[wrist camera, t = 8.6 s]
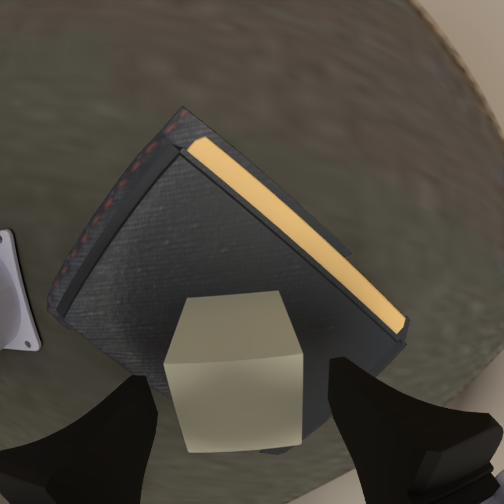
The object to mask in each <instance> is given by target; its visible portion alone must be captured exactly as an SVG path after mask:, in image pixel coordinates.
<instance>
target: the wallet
mask: <svg viewBox="0 0 504 504" xmlns="http://www.w3.org/2000/svg"><path fill="white" fill-rule="evenodd" d="M348 255H352V253H351V252H350V251H349V250H348V249H347V248H346V247H345V246H344V245H342V244H341V243H340V242H339V241H338V240H337V239H336V238H335V237H334V236H333V235H332V234H331V233H330V232H329V231H328V230H327V229H326V228H325V227H324V226H322V225H321V224H320V223H319V222H318V221H317V220H316V219H315V218H314V217H313V216H312V215H311V214H310V213H308V212H307V211H306V210H305V209H304V208H303V207H302V206H301V205H300V204H299V203H297V202H296V201H295V200H294V199H293V198H292V197H291V196H290V195H289V194H287V193H286V192H285V191H284V190H283V189H282V188H281V187H280V186H278V185H277V184H276V183H275V182H274V181H273V180H272V179H270V178H269V177H268V176H267V175H266V174H265V173H263V172H262V171H261V170H260V169H259V168H258V167H257V166H255V165H254V164H253V163H252V162H251V161H249V160H248V159H247V158H246V157H245V156H244V155H242V154H241V153H240V152H239V151H238V150H236V149H235V148H234V147H233V146H232V145H230V144H229V143H228V142H227V141H226V140H224V139H223V138H222V137H221V136H219V135H218V134H217V133H216V132H215V131H213V130H212V129H211V128H210V127H208V126H207V125H206V124H205V123H203V122H202V121H201V120H200V119H198V118H197V117H196V116H195V115H193V114H192V113H191V112H189V111H188V110H187V109H186V108H184V107H183V106H182V107H181V108H180V109H179V110H178V111H177V113H176V114H175V115H174V116H173V117H172V118H171V120H170V121H169V122H168V123H167V124H166V126H165V127H164V128H163V129H162V130H161V131H160V132H159V133H158V134H157V135H156V136H155V137H154V138H153V140H152V141H151V142H150V143H149V144H148V145H147V146H146V147H145V148H144V149H143V150H142V151H141V152H140V153H139V154H138V156H137V157H136V158H135V159H134V161H133V162H132V163H131V165H130V166H129V167H128V168H127V170H126V171H125V172H124V174H123V175H122V176H121V178H120V179H119V180H118V182H117V183H116V184H115V186H114V187H113V188H112V190H111V191H110V193H109V194H108V195H107V197H106V198H105V200H104V201H103V203H102V204H101V205H100V207H99V208H98V210H97V211H96V213H95V214H94V216H93V217H92V219H91V220H90V222H89V223H88V225H87V226H86V228H85V229H84V231H83V233H82V234H81V236H80V237H79V239H78V240H77V242H76V244H75V245H74V247H73V249H72V250H71V252H70V254H69V255H68V257H67V259H66V260H65V262H64V264H63V266H62V267H61V269H60V271H59V273H58V274H57V276H56V278H55V280H54V282H53V285H52V287H51V289H50V291H49V293H48V300H47V311H48V312H49V313H50V314H51V315H52V316H53V317H54V318H55V319H56V320H57V321H58V322H59V323H60V324H62V325H63V326H64V327H65V328H66V329H67V330H68V331H69V330H70V327H71V326H72V327H74V328H75V329H76V330H77V331H78V332H79V333H81V334H82V335H83V336H84V337H85V338H87V339H88V340H89V341H90V342H92V343H93V344H94V345H95V346H97V347H98V348H99V349H100V350H102V351H103V352H104V353H106V354H107V355H108V356H109V357H111V358H112V359H113V360H115V361H116V362H117V363H119V364H120V365H121V366H123V367H124V368H126V369H127V370H128V371H130V372H131V373H133V374H134V375H146V378H147V381H148V384H149V385H150V386H152V387H153V388H155V389H156V390H158V391H159V392H161V393H162V394H164V395H165V396H167V397H168V398H170V399H172V395H171V392H170V388H169V384H168V380H167V376H166V372H165V368H164V361H165V358H166V355H167V353H168V350H169V347H170V344H171V341H172V338H173V336H174V333H175V330H176V327H177V325H178V322H179V319H180V316H181V314H182V311H183V308H184V305H185V303H186V300H187V298H194V297H208V296H221V295H233V294H245V293H257V292H268V291H279V293H280V296H281V298H282V301H283V303H284V306H285V308H286V311H287V313H288V316H289V319H290V321H291V324H292V326H293V329H294V331H295V334H296V337H297V339H298V342H299V344H300V347H301V349H302V352H303V410H302V440H303V439H305V438H306V437H307V436H309V435H310V434H311V433H312V432H314V431H315V430H316V429H317V428H319V427H320V426H321V425H322V424H323V423H325V422H326V421H327V420H328V419H329V418H331V417H332V416H333V415H332V412H331V408H330V405H329V401H328V381H329V359H332V358H338V357H343V356H344V357H346V358H347V359H349V360H350V361H352V362H353V363H354V364H356V365H357V366H359V367H360V368H362V369H363V370H364V371H366V372H367V373H369V374H370V375H372V376H373V377H376V376H377V375H378V374H379V373H380V372H381V371H383V370H384V369H385V368H386V367H387V366H388V365H389V364H390V363H391V361H392V360H393V359H394V358H395V357H396V356H397V355H398V354H399V353H400V352H401V351H402V350H403V349H404V347H405V346H406V345H407V344H406V343H405V338H406V334H407V330H408V326H409V322H410V320H409V318H408V317H407V316H406V317H404V316H403V315H402V314H401V313H400V312H399V311H398V310H397V309H396V308H395V307H394V306H393V305H392V304H391V303H390V302H389V301H388V300H387V299H386V298H385V297H384V296H383V295H382V294H381V293H380V292H379V291H378V290H377V289H376V288H375V287H374V286H373V285H372V284H371V283H370V282H369V281H368V280H367V279H366V278H365V277H364V276H363V275H362V274H360V273H359V272H358V271H357V270H356V269H355V268H354V267H353V266H352V265H351V264H350V263H349V262H348V261H347V260H346V259H345V258H344V257H345V256H348ZM172 400H173V399H172ZM294 446H295V445H294ZM294 446H286V447H278V448H269V449H262V450H261V451H260V453H268V454H277V455H278V454H282V453H285V452H286V451H288V450H289V449H291V448H292V447H294Z"/></svg>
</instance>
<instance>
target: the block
mask: <svg viewBox="0 0 504 504" xmlns="http://www.w3.org/2000/svg"><path fill="white" fill-rule="evenodd" d="M164 368H165V372H166V376H167V380H168V384H169V388H170V392H171V395H172V399H173V403H174V406H175V410H176V413H177V417H178V420H179V424H180V427H181V430H182V433H183V437H184V440H185V443H186V446H187V449H188V452H231V451H247V450H259V449H269V448H278V447H286V446H294V445H301V443H302V410H303V352H302V349H301V347H300V344H299V342H298V339H297V337H296V334H295V331H294V329H293V326H292V324H291V321H290V319H289V316H288V313H287V311H286V308H285V306H284V303H283V301H282V298H281V296H280V293H279V291H268V292H257V293H245V294H233V295H221V296H208V297H194V298H187V300H186V303H185V305H184V308H183V311H182V314H181V316H180V319H179V322H178V325H177V327H176V330H175V333H174V336H173V338H172V341H171V344H170V347H169V350H168V353H167V355H166V358H165V361H164Z"/></svg>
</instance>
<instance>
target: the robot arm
mask: <svg viewBox="0 0 504 504" xmlns="http://www.w3.org/2000/svg"><path fill="white" fill-rule="evenodd" d="M1 237H2V241H1ZM29 343H30V344H31V345H30V344H29ZM40 348H41V341H40V339H39V336H38V333H37V330H36V327H35V324H34V320H33V317H32V314H31V311H30V307H29V304H28V300H27V296H26V293H25V289H24V285H23V281H22V277H21V273H20V268H19V264H18V259H17V254H16V249H15V244H14V238H13V234H12V232H11V231H10V230H9V229H5V230H1V231H0V351H1V350H2V349H14V350H27V351H38V350H39V349H40ZM328 401H329V405H330V408H331V412H332V415H333V418H334V420H335V423H336V425H337V427H338V429H339V431H340V434H341V436H342V438H343V440H344V442H345V444H346V446H347V449H348V451H349V453H350V455H351V457H352V460H353V462H354V465H355V467H356V470H357V474H358V477H359V480H360V483H361V487H362V490H363V494H364V497H365V501H366V504H504V470H503V471H501V472H500V473H499V474H498V475H497V476H496V477H494V476H493V475H492V474H491V472H492V471H493V469H494V468H493V466H492V465H491V463H490V460H491V458H492V457H493V455H494V453H495V452H496V450H497V448H498V446H499V444H500V442H501V440H502V436H503V428H502V427H501V426H500V425H499V423H498V422H497V421H496V420H495V419H494V418H493V417H492V416H491V415H490V414H489V413H477V412H465V411H459V410H453V409H448V408H444V407H440V406H436V405H433V404H430V403H426V402H423V401H421V400H418V399H415V398H413V397H411V396H408V395H406V394H404V393H402V392H400V391H397V390H396V389H394V388H392V387H390V386H388V385H386V384H385V383H383V382H381V381H380V380H378V379H377V378H375V377H373V376H372V375H370V374H369V373H367V372H366V371H364V370H363V369H362V368H360V367H359V366H357V365H356V364H354V363H353V362H352V361H350V360H349V359H347V358H346V357H344V356H343V357H338V358H332V359H329V381H328ZM157 417H158V412H157V409H156V406H155V403H154V400H153V397H152V394H151V391H150V387H149V384H148V381H147V378H146V375H132V376H130V377H129V378H128V379H127V380H126V381H124V382H123V383H122V384H121V385H120V386H119V387H118V388H117V389H115V390H114V391H113V392H112V393H111V394H110V395H109V396H108V397H106V398H105V399H104V400H103V401H102V402H101V403H99V404H98V405H97V406H96V407H94V408H93V409H92V410H90V411H89V412H88V413H87V414H85V415H84V416H83V417H81V418H80V419H78V420H77V421H75V422H74V423H72V424H70V425H69V426H67V427H65V428H63V429H62V430H60V431H58V432H55V433H53V434H51V435H49V436H47V437H45V438H43V439H40V440H38V441H35V442H32V443H29V444H26V445H23V446H19V447H15V448H10V449H6V450H1V451H0V494H1V495H2V496H3V497H4V498H5V499H6V500H7V501H8V502H9V503H10V504H140V498H141V489H142V482H143V477H144V473H145V470H146V466H147V462H148V459H149V455H150V452H151V448H152V444H153V441H154V437H155V433H156V426H157Z"/></svg>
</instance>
